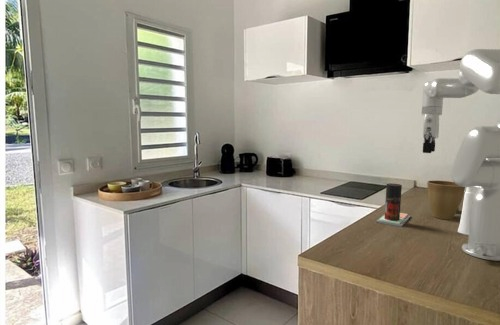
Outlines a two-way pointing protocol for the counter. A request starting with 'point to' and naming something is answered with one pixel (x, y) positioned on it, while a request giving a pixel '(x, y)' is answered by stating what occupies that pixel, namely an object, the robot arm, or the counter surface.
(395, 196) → the deodorant
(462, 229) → the cosmetic bottle
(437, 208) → the plant pot
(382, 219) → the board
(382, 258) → the counter surface
